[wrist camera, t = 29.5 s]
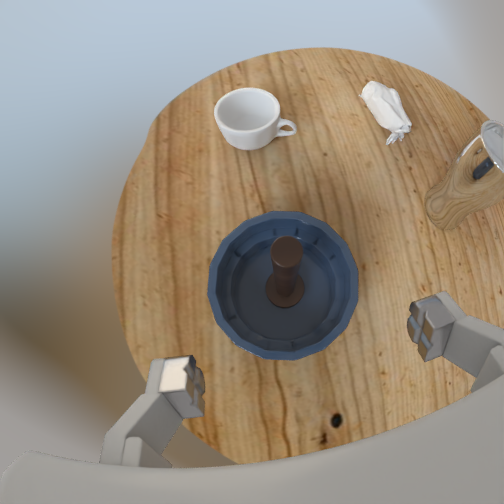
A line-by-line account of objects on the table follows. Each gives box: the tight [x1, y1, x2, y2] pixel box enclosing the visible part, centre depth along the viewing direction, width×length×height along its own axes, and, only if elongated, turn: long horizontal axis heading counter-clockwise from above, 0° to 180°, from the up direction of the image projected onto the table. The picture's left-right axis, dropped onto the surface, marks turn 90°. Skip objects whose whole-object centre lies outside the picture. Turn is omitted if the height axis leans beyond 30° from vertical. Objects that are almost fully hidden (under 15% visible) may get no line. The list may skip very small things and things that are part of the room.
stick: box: [266, 236, 305, 308], centre depth 24 cm, size 4×4×16 cm
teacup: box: [214, 88, 297, 150], centre depth 35 cm, size 10×8×5 cm
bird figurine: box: [358, 81, 412, 145], centre depth 34 cm, size 5×7×10 cm
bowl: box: [207, 211, 358, 360], centre depth 29 cm, size 14×14×6 cm
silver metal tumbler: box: [425, 120, 504, 230], centre depth 25 cm, size 7×7×15 cm
